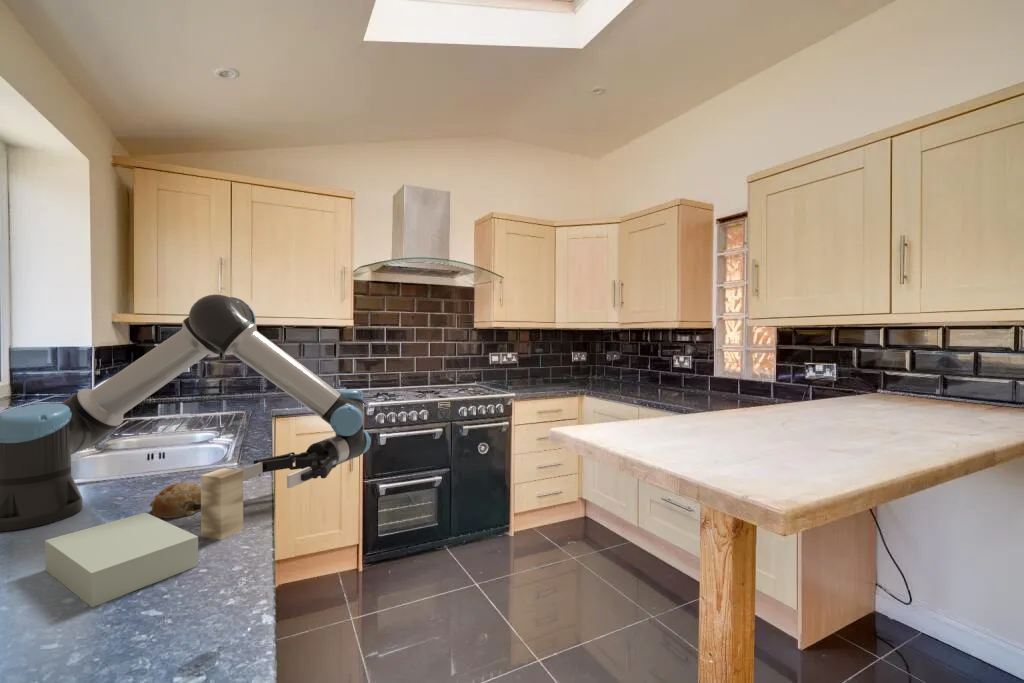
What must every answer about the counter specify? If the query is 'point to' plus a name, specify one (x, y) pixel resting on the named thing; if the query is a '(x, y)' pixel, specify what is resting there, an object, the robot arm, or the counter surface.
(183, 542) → the block
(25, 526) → the robot arm
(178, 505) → the bread roll
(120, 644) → the counter surface
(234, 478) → the birch block
